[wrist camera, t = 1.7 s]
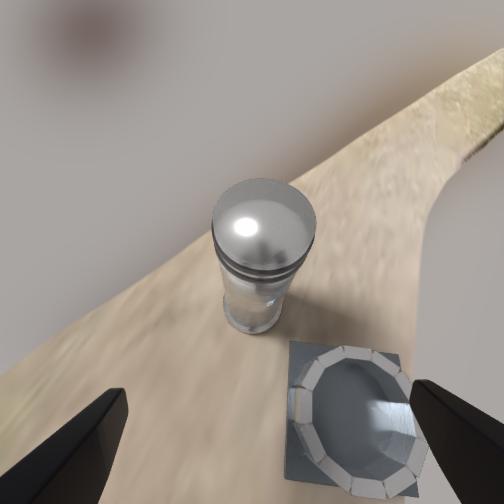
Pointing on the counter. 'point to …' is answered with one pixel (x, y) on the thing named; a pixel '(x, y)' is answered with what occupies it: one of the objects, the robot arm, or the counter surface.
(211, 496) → the counter surface
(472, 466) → the robot arm
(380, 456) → the sleeve
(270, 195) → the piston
